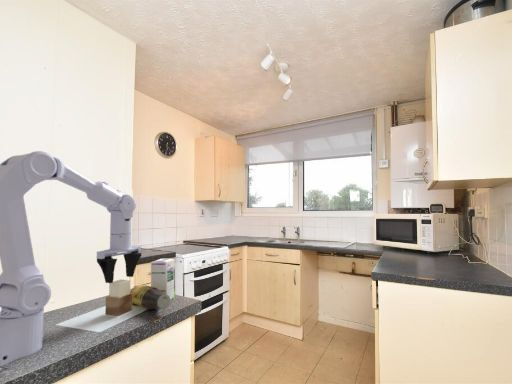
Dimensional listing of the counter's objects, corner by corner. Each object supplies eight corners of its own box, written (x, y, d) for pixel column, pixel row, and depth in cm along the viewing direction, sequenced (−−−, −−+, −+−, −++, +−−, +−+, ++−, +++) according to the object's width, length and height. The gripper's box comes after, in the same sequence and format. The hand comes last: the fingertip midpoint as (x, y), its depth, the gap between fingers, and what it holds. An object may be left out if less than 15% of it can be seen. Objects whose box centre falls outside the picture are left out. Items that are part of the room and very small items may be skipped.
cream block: (119, 297, 77) (119, 283, 77) (109, 296, 78) (109, 282, 78) (130, 293, 80) (130, 280, 81) (120, 292, 82) (120, 279, 82)
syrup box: (167, 307, 85) (167, 261, 86) (150, 306, 86) (150, 261, 87) (175, 301, 90) (175, 258, 92) (159, 300, 92) (159, 258, 93)
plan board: (99, 335, 65) (99, 332, 65) (55, 327, 71) (55, 324, 71) (151, 310, 82) (151, 307, 82) (112, 305, 88) (112, 303, 88)
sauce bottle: (140, 280, 91) (168, 283, 77) (150, 294, 92) (179, 299, 79) (123, 294, 86) (150, 300, 73) (134, 309, 88) (162, 317, 74)
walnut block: (118, 316, 76) (118, 298, 76) (105, 314, 77) (105, 296, 78) (132, 310, 80) (132, 293, 81) (119, 308, 82) (119, 292, 83)
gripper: (110, 236, 73) (109, 286, 72) (148, 232, 86) (148, 274, 85) (91, 235, 75) (90, 285, 74) (131, 232, 89) (130, 273, 87)
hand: (120, 279), depth 80 cm, fingers open, 7 cm apart
